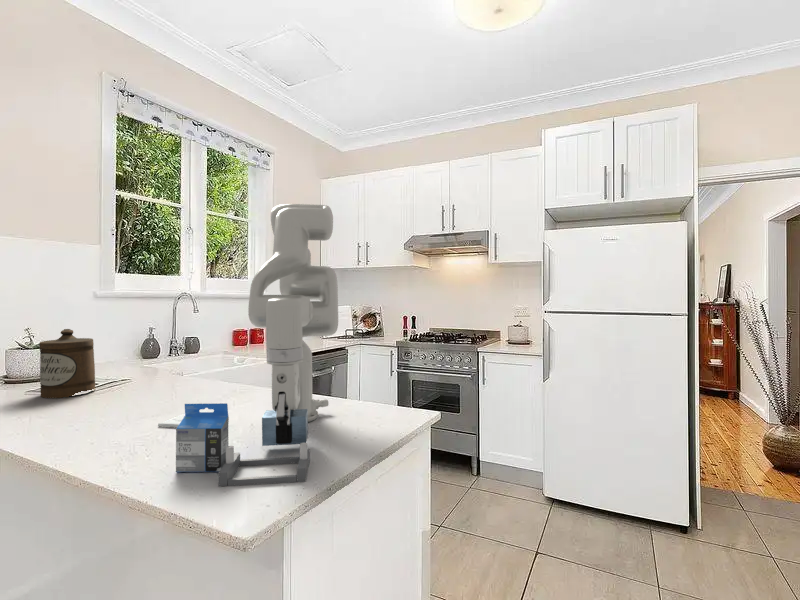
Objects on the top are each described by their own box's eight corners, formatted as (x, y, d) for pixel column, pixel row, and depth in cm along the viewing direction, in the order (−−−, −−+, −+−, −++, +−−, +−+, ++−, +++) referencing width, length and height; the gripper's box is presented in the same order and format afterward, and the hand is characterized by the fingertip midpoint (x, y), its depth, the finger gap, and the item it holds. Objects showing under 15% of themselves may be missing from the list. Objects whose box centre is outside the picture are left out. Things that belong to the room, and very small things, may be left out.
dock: (232, 465, 86) (232, 438, 86) (309, 461, 88) (309, 435, 88) (218, 486, 76) (218, 457, 76) (305, 481, 78) (305, 452, 78)
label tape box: (174, 473, 82) (173, 408, 82) (185, 464, 86) (184, 403, 86) (221, 473, 82) (220, 408, 82) (229, 464, 86) (229, 402, 86)
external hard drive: (216, 417, 121) (186, 431, 109) (190, 415, 123) (157, 429, 111) (216, 411, 121) (186, 424, 109) (190, 410, 123) (157, 422, 111)
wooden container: (28, 397, 142) (27, 330, 142) (69, 388, 157) (68, 327, 157) (67, 399, 140) (66, 331, 140) (105, 389, 155) (104, 327, 154)
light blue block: (265, 437, 97) (265, 410, 96) (307, 435, 98) (307, 409, 97) (261, 445, 92) (261, 417, 91) (305, 443, 93) (305, 416, 92)
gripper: (298, 362, 86) (299, 453, 87) (306, 348, 102) (306, 423, 104) (259, 363, 85) (260, 455, 86) (273, 348, 101) (274, 425, 103)
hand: (285, 437), depth 95 cm, fingers closed on light blue block, 5 cm apart
